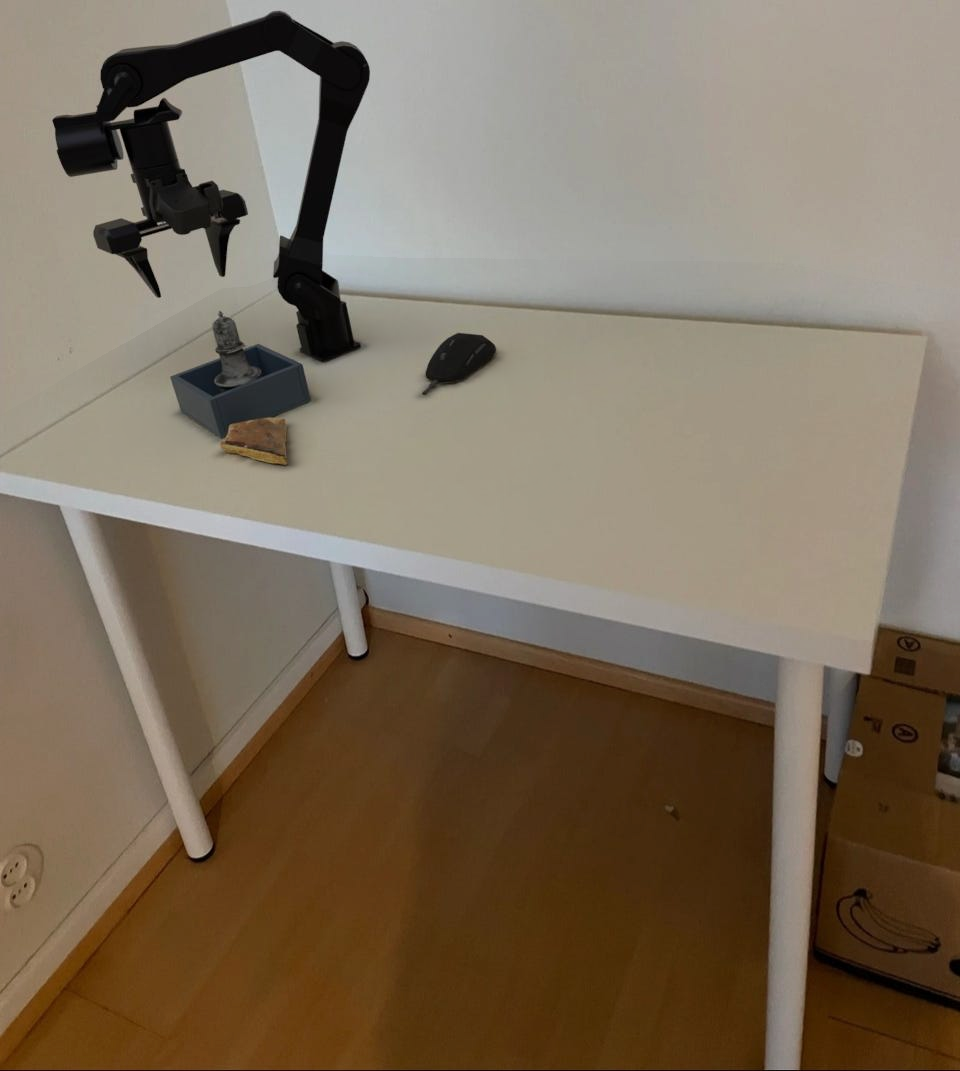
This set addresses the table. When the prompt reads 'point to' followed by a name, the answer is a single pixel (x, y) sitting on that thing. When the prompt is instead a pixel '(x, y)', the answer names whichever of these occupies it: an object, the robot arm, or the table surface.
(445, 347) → the gaming mouse
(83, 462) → the table surface
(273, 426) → the shard
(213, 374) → the bin
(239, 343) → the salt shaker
